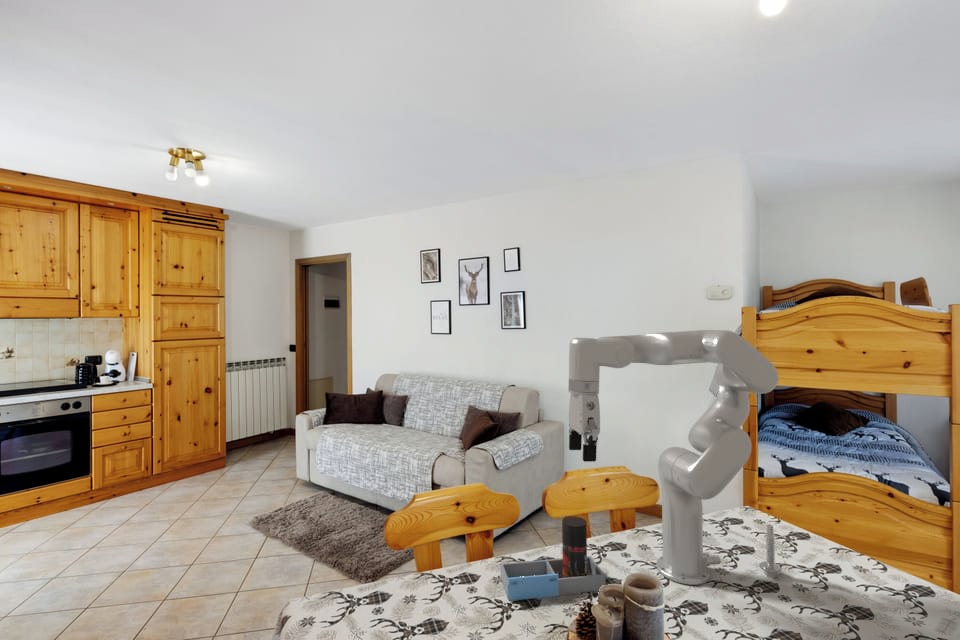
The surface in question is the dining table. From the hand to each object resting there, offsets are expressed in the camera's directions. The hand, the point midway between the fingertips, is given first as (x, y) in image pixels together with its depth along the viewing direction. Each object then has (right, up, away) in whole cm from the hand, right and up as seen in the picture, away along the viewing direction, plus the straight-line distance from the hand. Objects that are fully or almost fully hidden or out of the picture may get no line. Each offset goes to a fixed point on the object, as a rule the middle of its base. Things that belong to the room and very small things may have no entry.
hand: (581, 455), depth 113 cm
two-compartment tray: (-8, -31, -1) cm, 32 cm away
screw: (+48, -31, +2) cm, 58 cm away
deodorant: (-2, -32, -1) cm, 32 cm away
